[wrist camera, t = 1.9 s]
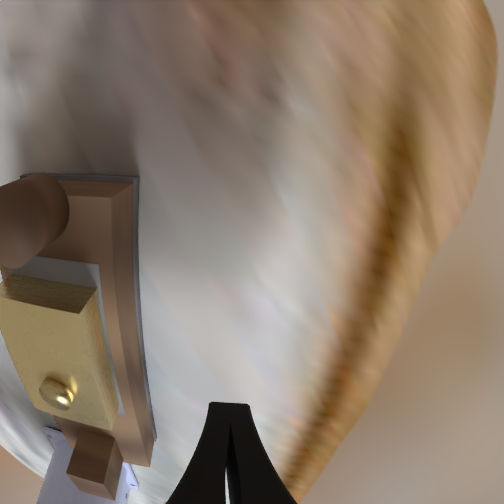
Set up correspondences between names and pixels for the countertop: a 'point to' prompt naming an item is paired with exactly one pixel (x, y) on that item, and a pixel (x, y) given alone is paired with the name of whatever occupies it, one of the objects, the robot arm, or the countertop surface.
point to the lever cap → (59, 348)
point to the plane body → (109, 291)
